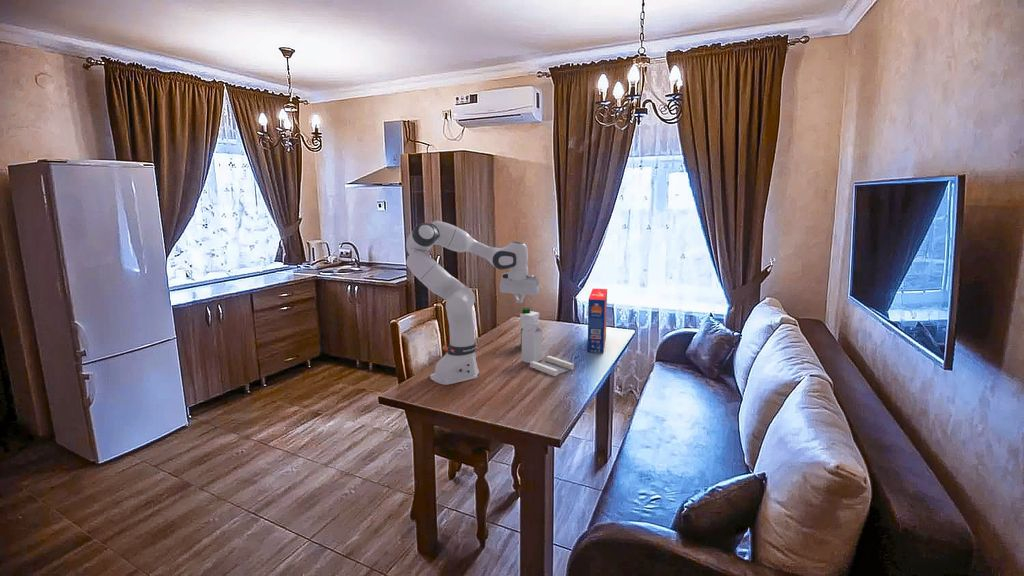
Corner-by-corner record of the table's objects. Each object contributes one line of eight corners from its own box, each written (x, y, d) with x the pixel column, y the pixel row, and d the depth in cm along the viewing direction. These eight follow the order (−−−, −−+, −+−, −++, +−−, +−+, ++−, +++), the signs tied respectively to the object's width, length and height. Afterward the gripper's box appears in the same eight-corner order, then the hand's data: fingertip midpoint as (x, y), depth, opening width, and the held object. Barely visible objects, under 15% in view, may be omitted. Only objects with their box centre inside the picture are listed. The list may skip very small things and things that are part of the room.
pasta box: (603, 353, 244) (604, 299, 239) (587, 352, 246) (588, 299, 241) (605, 337, 271) (607, 289, 266) (591, 336, 273) (592, 288, 268)
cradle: (554, 376, 215) (554, 370, 215) (530, 366, 227) (530, 361, 226) (574, 368, 224) (574, 363, 223) (549, 360, 235) (549, 355, 235)
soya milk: (527, 341, 265) (527, 306, 261) (541, 344, 259) (541, 308, 255) (518, 346, 258) (517, 309, 254) (532, 349, 253) (531, 312, 249)
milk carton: (529, 357, 240) (529, 320, 236) (541, 360, 236) (541, 322, 232) (521, 361, 234) (521, 323, 231) (533, 364, 230) (533, 326, 226)
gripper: (541, 275, 231) (541, 303, 234) (503, 272, 240) (504, 299, 243) (536, 277, 226) (536, 306, 228) (497, 274, 235) (498, 302, 237)
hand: (519, 302), depth 236 cm, fingers closed
